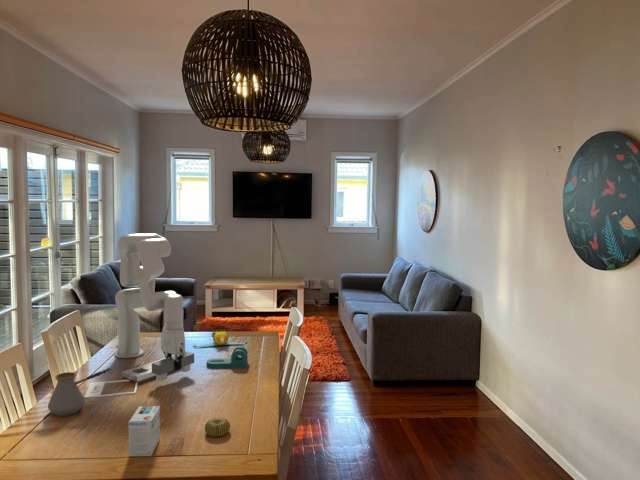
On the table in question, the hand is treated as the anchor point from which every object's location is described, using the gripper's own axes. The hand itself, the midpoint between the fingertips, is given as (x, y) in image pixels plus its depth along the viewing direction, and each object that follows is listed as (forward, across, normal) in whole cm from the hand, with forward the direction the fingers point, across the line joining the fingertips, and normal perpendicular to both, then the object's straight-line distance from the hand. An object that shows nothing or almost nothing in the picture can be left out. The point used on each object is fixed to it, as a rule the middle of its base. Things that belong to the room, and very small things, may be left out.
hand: (173, 367), depth 201 cm
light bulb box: (+5, +36, -41) cm, 55 cm away
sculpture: (+5, +48, -22) cm, 53 cm away
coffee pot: (+5, -3, -38) cm, 38 cm away
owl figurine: (+7, -21, +47) cm, 52 cm away
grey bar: (+3, 0, 0) cm, 3 cm away
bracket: (+6, +5, +26) cm, 27 cm away
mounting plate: (+5, -13, 0) cm, 14 cm away
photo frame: (+6, -12, -20) cm, 24 cm away
